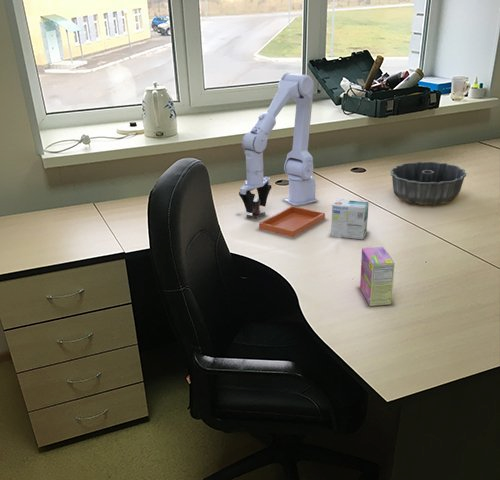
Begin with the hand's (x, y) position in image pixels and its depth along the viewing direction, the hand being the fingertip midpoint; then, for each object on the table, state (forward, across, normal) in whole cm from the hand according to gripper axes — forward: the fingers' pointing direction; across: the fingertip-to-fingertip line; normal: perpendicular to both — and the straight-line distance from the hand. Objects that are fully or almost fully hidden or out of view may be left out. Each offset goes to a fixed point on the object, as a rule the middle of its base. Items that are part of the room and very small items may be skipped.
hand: (256, 208), depth 204 cm
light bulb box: (+3, -4, +35) cm, 35 cm away
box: (+3, +30, +61) cm, 68 cm away
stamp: (+3, 0, 0) cm, 3 cm away
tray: (+3, -1, +15) cm, 15 cm away
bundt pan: (+3, -49, +41) cm, 64 cm away
